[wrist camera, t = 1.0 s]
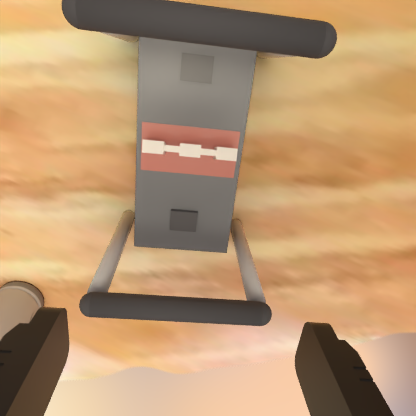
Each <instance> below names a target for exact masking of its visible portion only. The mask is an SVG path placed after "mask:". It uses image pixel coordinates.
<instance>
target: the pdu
mask: <svg viewBox="0 0 416 416" xmlns="http://www.w3.org/2000/svg"><path fill="white" fill-rule="evenodd" d="M101 33H104V34H107V35H110V36H113V37H116V38H119V39H122V40H125V41H128V42H136V41H137V40H138V38H139V59H138V104H137V148H136V193H135V214H134V213H133V212H132V211H129V210H128V211H125V212H124V213H123V215H122V217H121V219H120V221H119V223H118V226H117V228H116V230H115V232H114V234H113V237H112V239H111V241H110V243H109V245H108V247H107V250H106V252H105V254H104V256H103V258H102V261H101V263H100V265H99V267H98V269H97V271H96V274H95V276H94V278H93V280H92V282H91V284H90V287H89V289H88V292H87V293H89V292H108V289H109V287H110V284H111V281H112V279H113V276H114V273H115V271H116V268H117V265H118V262H119V260H120V257H121V254H122V252H123V249H124V246H125V243H126V241H127V238H128V235H129V233H130V230H131V227H132V224H133V222H134V219H135V237H134V246H137V247H151V248H165V249H179V250H194V251H208V252H222V253H227V247H228V241H229V234H230V229H231V233H232V237H233V242H234V246H235V250H236V255H237V259H238V263H239V267H240V272H241V276H242V280H243V285H244V289H245V293H246V298H247V301H260V302H264V303H266V300H265V297H264V294H263V291H262V287H261V284H260V281H259V278H258V274H257V271H256V268H255V265H254V262H253V258H252V255H251V252H250V249H249V245H248V242H247V239H246V236H245V232H244V229H243V226H242V223H241V221H240V220H238V219H234V220H232V214H233V208H234V201H235V194H236V188H237V181H238V175H239V168H240V162H241V155H242V148H243V142H244V135H245V129H246V122H247V116H248V109H249V102H250V96H251V89H252V83H253V76H254V70H255V63H256V56H258V57H260V58H277V57H293V56H292V55H283V54H275V53H267V52H259V51H251V50H243V49H235V48H227V47H219V46H211V45H202V44H194V43H186V42H178V41H170V40H162V39H154V38H146V37H138V36H130V35H122V34H113V33H105V32H101ZM143 139H144V140H154V141H164V142H165V143H166V145H171V146H180V143H185V144H195V145H201V148H202V149H212V150H214V147H226V148H236V149H238V151H237V161H227V160H217V159H213V156H208V155H200V158H196V157H185V156H179V153H176V152H166V151H165V155H164V154H153V153H143V152H142V140H143Z"/></svg>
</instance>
